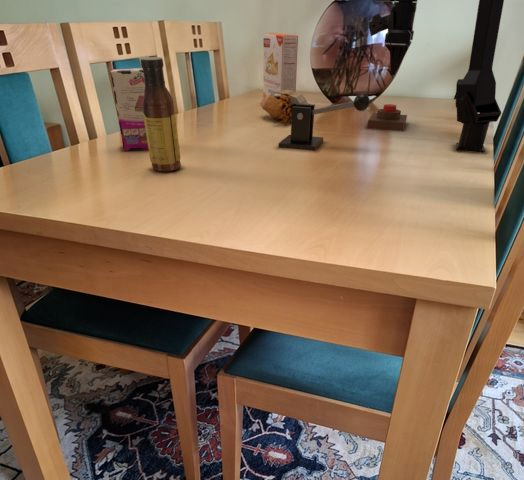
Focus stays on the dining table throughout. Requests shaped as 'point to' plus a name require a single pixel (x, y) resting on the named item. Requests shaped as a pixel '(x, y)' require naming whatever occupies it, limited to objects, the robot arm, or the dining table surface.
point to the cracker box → (279, 62)
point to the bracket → (302, 130)
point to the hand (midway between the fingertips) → (393, 73)
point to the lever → (347, 105)
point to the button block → (387, 120)
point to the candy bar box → (130, 107)
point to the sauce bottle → (159, 118)
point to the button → (389, 108)
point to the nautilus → (282, 104)
